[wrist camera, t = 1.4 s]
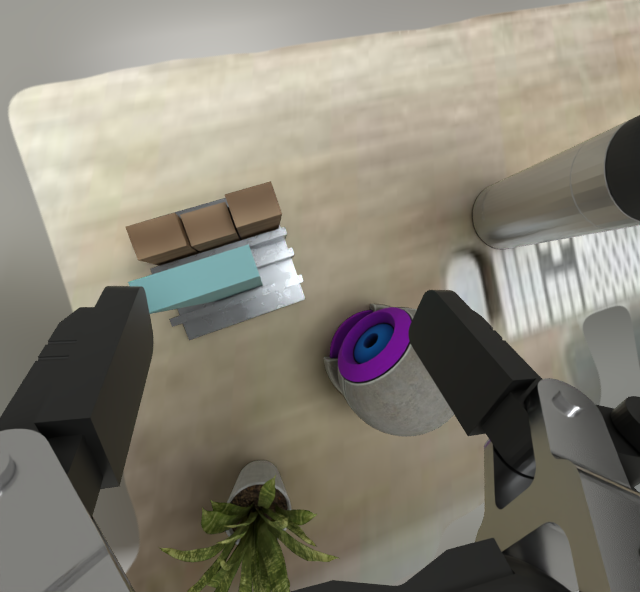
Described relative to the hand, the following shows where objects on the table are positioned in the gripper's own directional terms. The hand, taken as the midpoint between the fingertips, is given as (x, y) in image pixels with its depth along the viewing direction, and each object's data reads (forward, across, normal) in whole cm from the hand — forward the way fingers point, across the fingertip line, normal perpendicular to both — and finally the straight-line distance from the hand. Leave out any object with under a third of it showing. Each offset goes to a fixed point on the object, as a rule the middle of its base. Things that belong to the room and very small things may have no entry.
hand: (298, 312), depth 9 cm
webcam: (+19, -16, +23) cm, 34 cm away
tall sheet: (+24, +1, +16) cm, 29 cm away
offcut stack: (+27, +3, +11) cm, 30 cm away
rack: (+27, +2, +15) cm, 31 cm away
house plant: (+12, 0, +36) cm, 38 cm away
